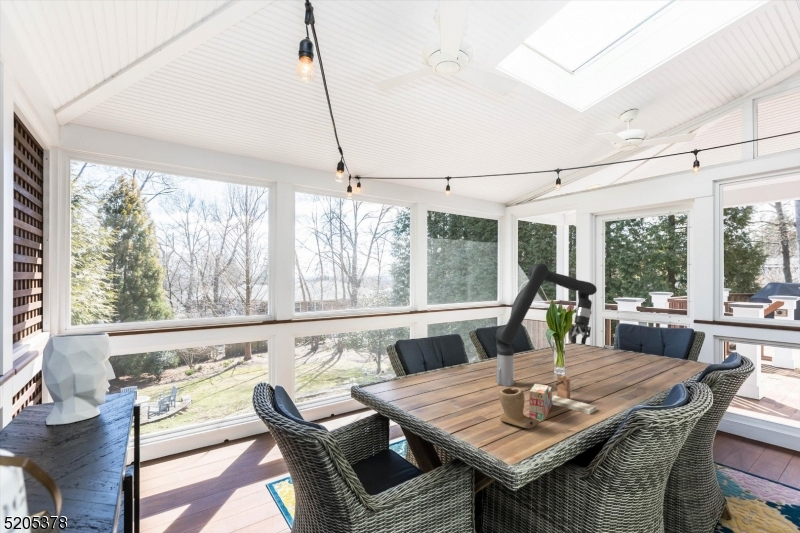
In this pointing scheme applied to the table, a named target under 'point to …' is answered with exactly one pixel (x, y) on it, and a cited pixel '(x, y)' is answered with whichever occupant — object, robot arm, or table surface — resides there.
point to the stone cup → (515, 408)
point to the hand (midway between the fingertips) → (578, 343)
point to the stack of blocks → (540, 401)
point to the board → (573, 404)
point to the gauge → (563, 387)
